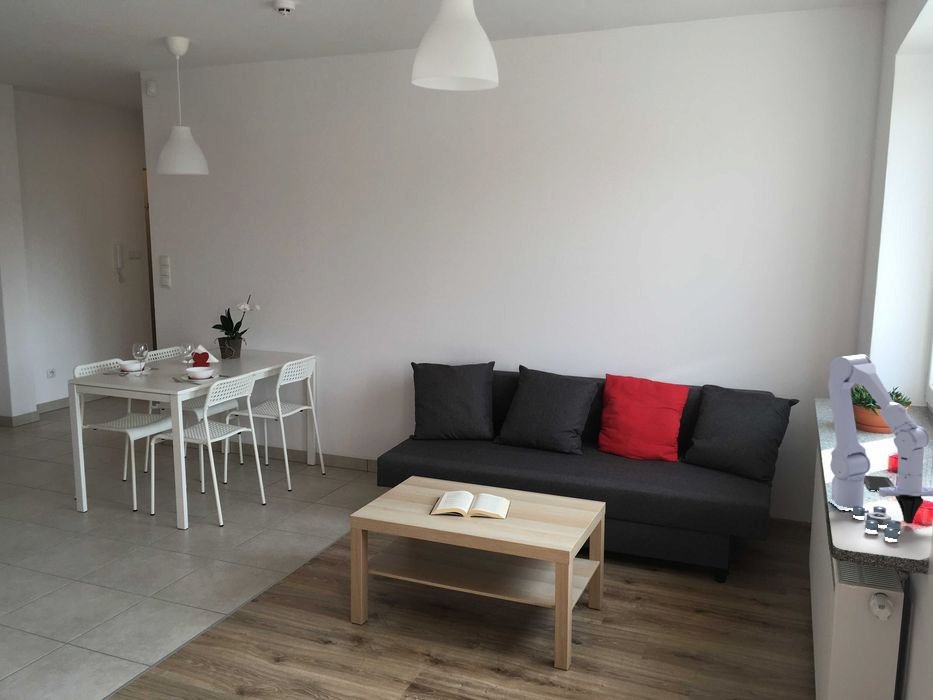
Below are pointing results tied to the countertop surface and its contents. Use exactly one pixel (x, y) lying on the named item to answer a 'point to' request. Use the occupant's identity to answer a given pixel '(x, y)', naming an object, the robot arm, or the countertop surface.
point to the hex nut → (879, 517)
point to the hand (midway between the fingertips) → (908, 522)
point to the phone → (877, 482)
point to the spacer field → (891, 528)
